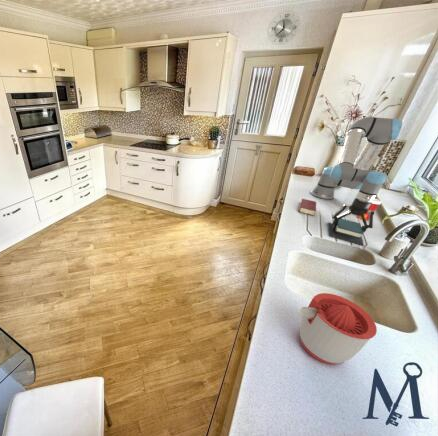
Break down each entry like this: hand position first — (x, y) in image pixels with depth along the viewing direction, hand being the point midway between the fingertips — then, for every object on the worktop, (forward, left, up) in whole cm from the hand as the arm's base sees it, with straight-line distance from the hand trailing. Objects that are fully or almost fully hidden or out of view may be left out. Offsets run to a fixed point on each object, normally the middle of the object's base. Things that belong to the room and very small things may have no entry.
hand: (345, 232), depth 139 cm
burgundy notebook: (-23, -21, -1) cm, 31 cm away
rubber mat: (0, 0, -1) cm, 1 cm away
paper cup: (-32, +12, -1) cm, 34 cm away
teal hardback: (0, 0, +2) cm, 2 cm away
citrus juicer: (+93, -13, -1) cm, 94 cm away
